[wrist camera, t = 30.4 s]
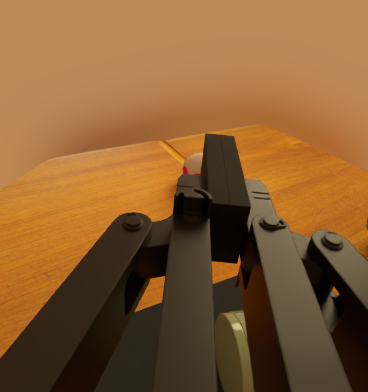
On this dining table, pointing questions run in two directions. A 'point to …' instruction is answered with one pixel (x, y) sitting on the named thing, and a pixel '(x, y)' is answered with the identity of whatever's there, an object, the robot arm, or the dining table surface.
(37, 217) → the dining table surface
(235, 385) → the cup
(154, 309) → the mat
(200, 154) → the stress ball
